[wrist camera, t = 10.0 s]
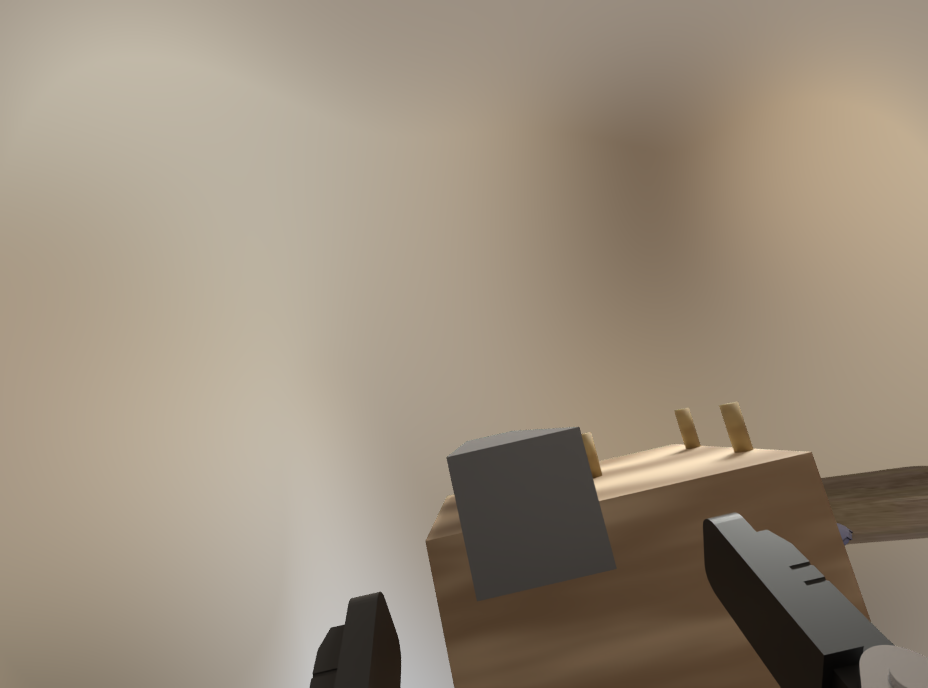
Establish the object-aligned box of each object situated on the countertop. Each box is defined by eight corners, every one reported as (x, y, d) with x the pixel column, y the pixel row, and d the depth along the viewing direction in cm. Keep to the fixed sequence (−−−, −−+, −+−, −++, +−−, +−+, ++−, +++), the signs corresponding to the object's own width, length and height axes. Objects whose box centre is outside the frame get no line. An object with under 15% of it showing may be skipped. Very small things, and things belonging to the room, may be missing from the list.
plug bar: (616, 568, 12) (579, 427, 12) (476, 601, 12) (446, 457, 12) (523, 478, 35) (512, 430, 36) (477, 489, 35) (466, 441, 36)
